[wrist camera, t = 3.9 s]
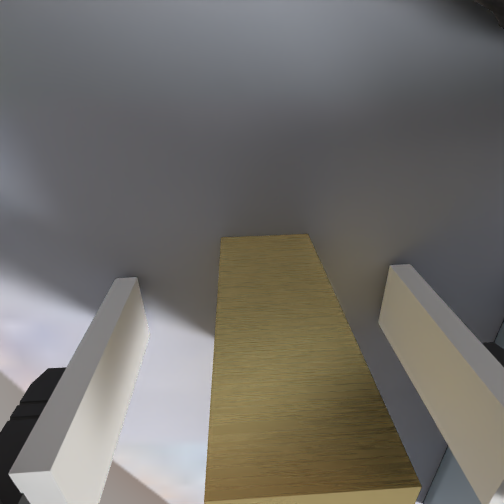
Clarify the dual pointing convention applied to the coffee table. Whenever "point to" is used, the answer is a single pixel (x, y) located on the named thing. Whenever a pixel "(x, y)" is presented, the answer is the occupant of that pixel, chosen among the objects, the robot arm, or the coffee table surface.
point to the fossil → (494, 9)
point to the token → (294, 389)
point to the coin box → (454, 473)
